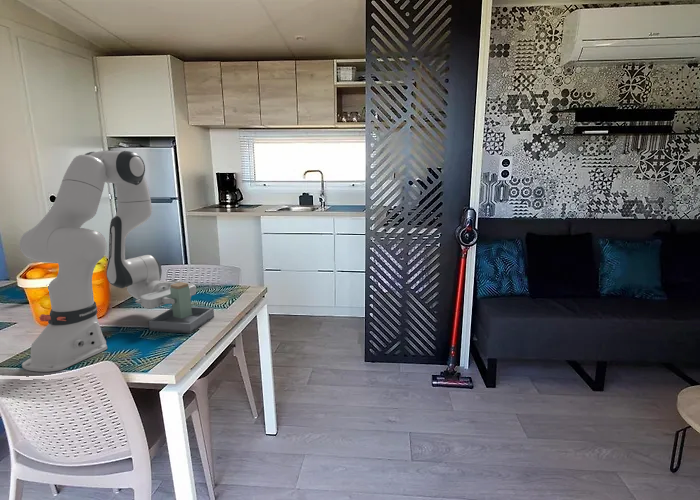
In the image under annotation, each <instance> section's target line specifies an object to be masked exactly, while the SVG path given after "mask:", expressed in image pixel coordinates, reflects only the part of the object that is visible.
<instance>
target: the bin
mask: <svg viewBox="0 0 700 500" xmlns="http://www.w3.org/2000/svg"><path fill="white" fill-rule="evenodd" d="M191 309H192V315H190V316H187V317H184V318H182V319H181V318H177V317H174V316H173V310H172V307H171V308H169V309H167V310H166V311H164V312H163V313H160V314H159V315H158V316H157V315H156V316H155V317H153V318H152V319H149V320H148V322H147V323H148V331H150V332H163V333H179V334H192V333H194V332H195V331H196V330H198V329H199V328H200V327H202V326H204V325H205V324H206V323H209V322H210V320H212V319H214V317H215V312H214V307H201V306H200V307H199V306H191Z"/></svg>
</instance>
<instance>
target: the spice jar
mask: <svg viewBox="0 0 700 500" xmlns="http://www.w3.org/2000/svg"><path fill="white" fill-rule="evenodd" d="M183 282H184V281H180V282H179V283H175V284H172V285H171V287H170V292H171V298H176V299H177V303H175V304H171V308H172V310H173V316H174V317H177V318H181V319H182V318H184V317H187V316H190V315H192V309H191V307H192V301H191V300H192V298H190V289H189V286H188V283H189V282H186V283H183Z"/></svg>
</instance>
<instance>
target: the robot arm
mask: <svg viewBox="0 0 700 500" xmlns="http://www.w3.org/2000/svg"><path fill="white" fill-rule="evenodd" d="M145 173H146V165H145V162H144V160H143V158H142V157H141V156H140V155H139V154H138V153H136V152H134V151H130V150H99V151H89V152H87V153H84V154H79V155H76V156H75V157H73V159H72V161H71V162H70V164H69V165H68V167H67V168H66V171H65V173H64V175H63V178H62V181H61V184H60V185H59V189H58V192H57V195H56V196H55V200H54V202H53V204H52V206H51V207H50V209H49V210H48V212H47V213H46V214H45V215H44V217H43V218H42V219H41V220H40V221H39V222H38V223H37V224H36V225H35V226H34V227H32V228H31V229H29V230H27V231H26V232H24V233H23V235H22V236H21V237H20V240H19V250H20V252H21V253H22V255H23V256H24V257H25V258H28V259H29V260H31V261H35V262H38V263H43V264H45V263H46V264H58V271H57V272H58V273H57V275H56V277H55V278H53V279H52V280H51V281H50V282H49V283H48V284H49V286H48V291H49V300H50V305H51V306H50V307H51V309H50V312H49V314H44V313H43V314H41V315H40V316H39V321H40V322H47V325H46V326H45V327H44V329H43V330H42V331H41V333H40V334H38V336H37V337H36V339H35V340H34V341H33V342H32V343H31V346H30V357H29V358H28V359H27V360H25V361H23V362H21V368H22V369H23V370H26V371H31V372H39V373H40V372H42V373H43V372H45V373H49V372H57V371H62V370H65V369H67V368H69V367H71V366H73V365H76V364H78V363H80V362H81V361H84V360H86V359H89V358H90V357H93V356H95V355H97V354H99V353H102V352H104V351H106V350H108V345H107V339H106V338H105V337H104V335H103V332H102V328H101V325H100V322H99V320H98V315H97V314H98V306H97V302H96V301H95V299H94V290H93V274H94V270H95V268H96V265H97V264H98V263H99V262H100V261H101V260H103V258H104V257H105V255H106V252H107V249H108V262H107V268H106V278H107V282H109V284H111V285H112V286H113V287H115V288H117V289H124V288H126V289H127V292H128V294H129V295H130V296H131V297H133V298H134V299H135V303H136V304H140V306H141V307H142V308H145V309H147V310H152V309H155V308H159V307H162V306H164V305H169V304H171V305H172V304H175V303H177V299H176V298H171V292H170V287H171V285H172V284H175V283H179V282H181V280H180V279H173V280H161V279H162V274H163V273H162V265H161V264H162V263H160V261H159V260H158V259H157V258H156V257H155V256H154V255H151V254H144V255H139V256H136V257H130V258H128V259H126V241H127V239H126V238H127V236H128V235H129V234H130V233H131V232H132V231H133V230H135V229H136V228H138V227H139V226H142V225H143V224H145V223H147V221H148V220H149V219H150V217H151V216H152V212H153V211H152V209H153V207H152V200H151V194H150V189H149V185H148V182H147V179H146V176H145ZM105 183H107V184H108V183H109V184H110V183H111V184H114V185H115V189H116V200H117V210H116V214H115V216H114V217H112V218H111V220H110V222H109V224H110V225H109V233H108V234H109V239H108V243H107V240H106V238H105V236H104V235H103V234H102V233H100V231H96V230H94V229H93V230H92V229H89V228H85V227H82V226H83V225H84V224H85V223H87V222H88V221H90V220H91V219H93V218H94V217H95V216H96V214H97V212H98V208H99V205H100V202H101V198H102V195H103V192H104V188H105ZM182 282H183V283H188V286H189V289H190V299H192V296H195V295H196V294H197V287H196V285H195V284H193V283H189V282H185V281H182Z"/></svg>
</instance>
